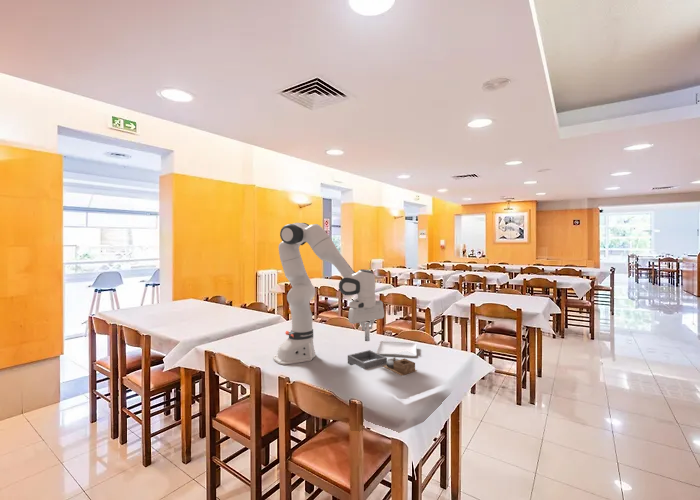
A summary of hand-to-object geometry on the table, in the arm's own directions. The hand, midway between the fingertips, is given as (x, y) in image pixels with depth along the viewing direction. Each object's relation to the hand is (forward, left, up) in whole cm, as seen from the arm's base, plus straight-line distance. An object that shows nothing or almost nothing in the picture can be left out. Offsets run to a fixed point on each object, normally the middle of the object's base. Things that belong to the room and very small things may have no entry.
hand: (367, 329), depth 168 cm
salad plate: (+24, +4, -18) cm, 30 cm away
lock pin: (0, 0, -6) cm, 6 cm away
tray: (0, 0, -18) cm, 18 cm away
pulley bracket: (+7, -16, -18) cm, 25 cm away
